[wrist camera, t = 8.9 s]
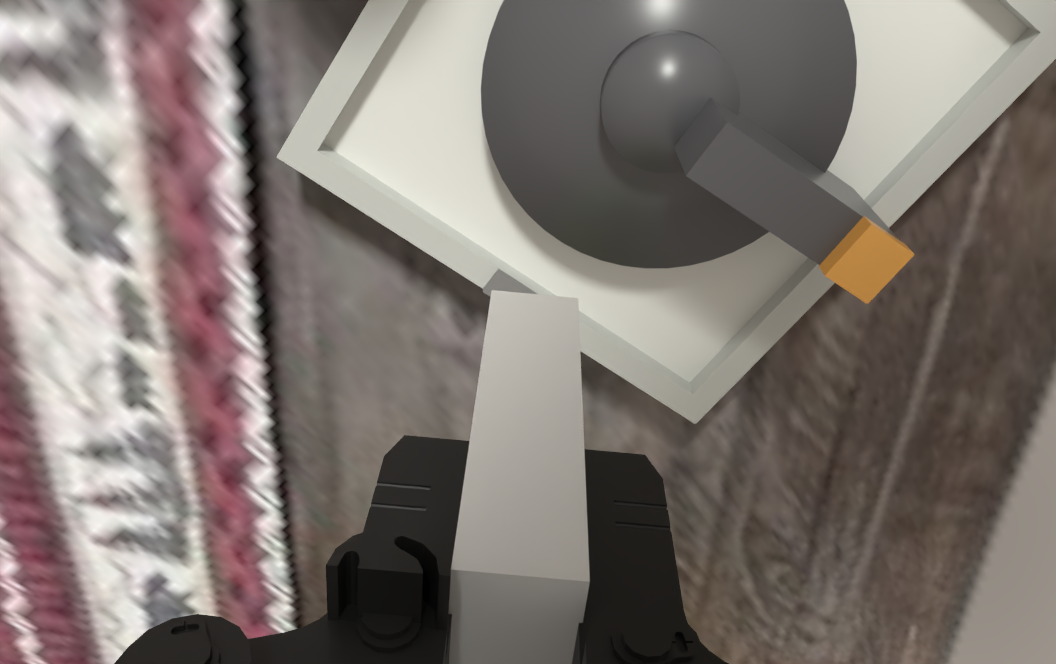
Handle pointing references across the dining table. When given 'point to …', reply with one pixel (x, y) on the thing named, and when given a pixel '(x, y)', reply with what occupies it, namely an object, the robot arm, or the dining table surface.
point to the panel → (629, 292)
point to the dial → (683, 130)
